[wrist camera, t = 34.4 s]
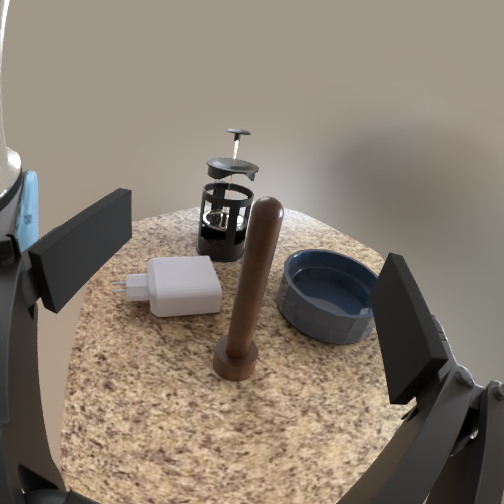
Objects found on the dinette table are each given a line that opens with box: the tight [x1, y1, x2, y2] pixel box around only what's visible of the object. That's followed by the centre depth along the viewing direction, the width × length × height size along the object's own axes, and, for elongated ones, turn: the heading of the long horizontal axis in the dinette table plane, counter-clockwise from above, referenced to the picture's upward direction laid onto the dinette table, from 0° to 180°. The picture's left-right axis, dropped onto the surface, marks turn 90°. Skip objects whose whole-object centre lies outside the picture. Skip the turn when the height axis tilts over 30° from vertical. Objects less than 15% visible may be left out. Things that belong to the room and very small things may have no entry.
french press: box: [196, 129, 259, 262], centre depth 50 cm, size 12×9×23 cm
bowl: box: [276, 249, 378, 344], centre depth 44 cm, size 17×17×6 cm
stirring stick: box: [213, 197, 284, 381], centre depth 28 cm, size 5×5×21 cm
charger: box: [112, 256, 222, 317], centre depth 40 cm, size 5×9×15 cm
